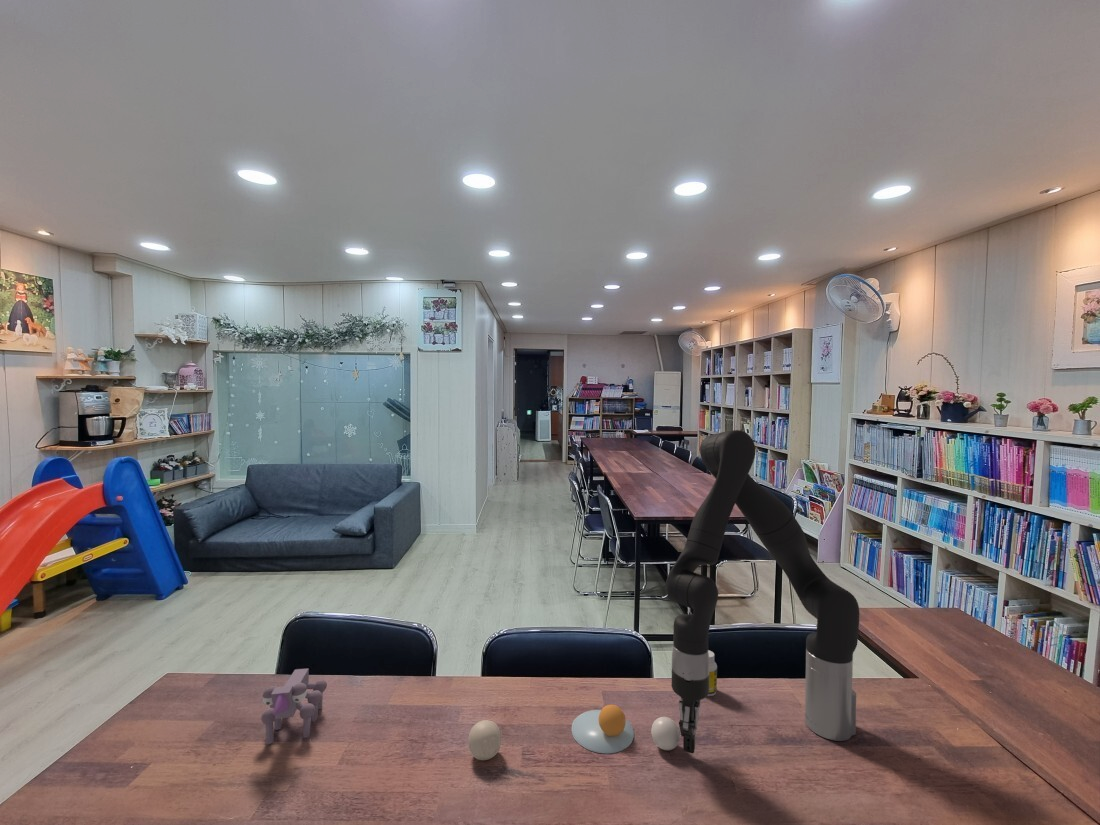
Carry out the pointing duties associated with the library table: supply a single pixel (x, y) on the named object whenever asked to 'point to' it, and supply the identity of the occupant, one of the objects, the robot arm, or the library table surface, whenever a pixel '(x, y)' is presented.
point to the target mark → (599, 734)
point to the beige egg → (484, 740)
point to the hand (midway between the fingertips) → (689, 750)
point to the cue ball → (665, 733)
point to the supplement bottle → (712, 674)
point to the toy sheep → (292, 702)
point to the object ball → (612, 720)
